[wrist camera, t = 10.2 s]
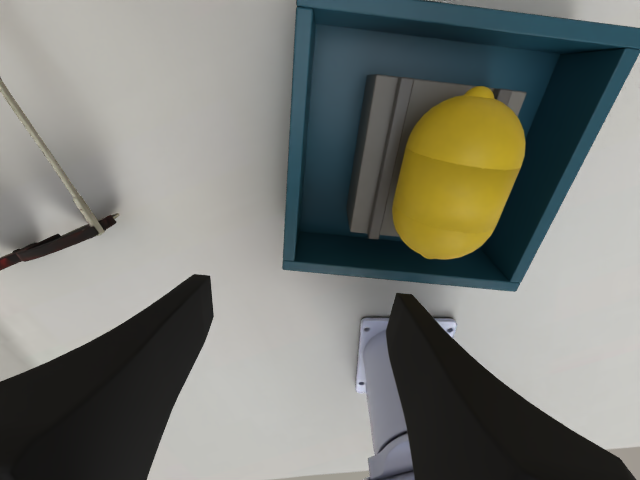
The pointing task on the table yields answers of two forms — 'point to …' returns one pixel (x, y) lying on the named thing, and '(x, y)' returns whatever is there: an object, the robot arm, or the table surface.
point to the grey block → (394, 143)
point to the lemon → (457, 174)
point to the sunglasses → (94, 225)
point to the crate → (452, 67)
